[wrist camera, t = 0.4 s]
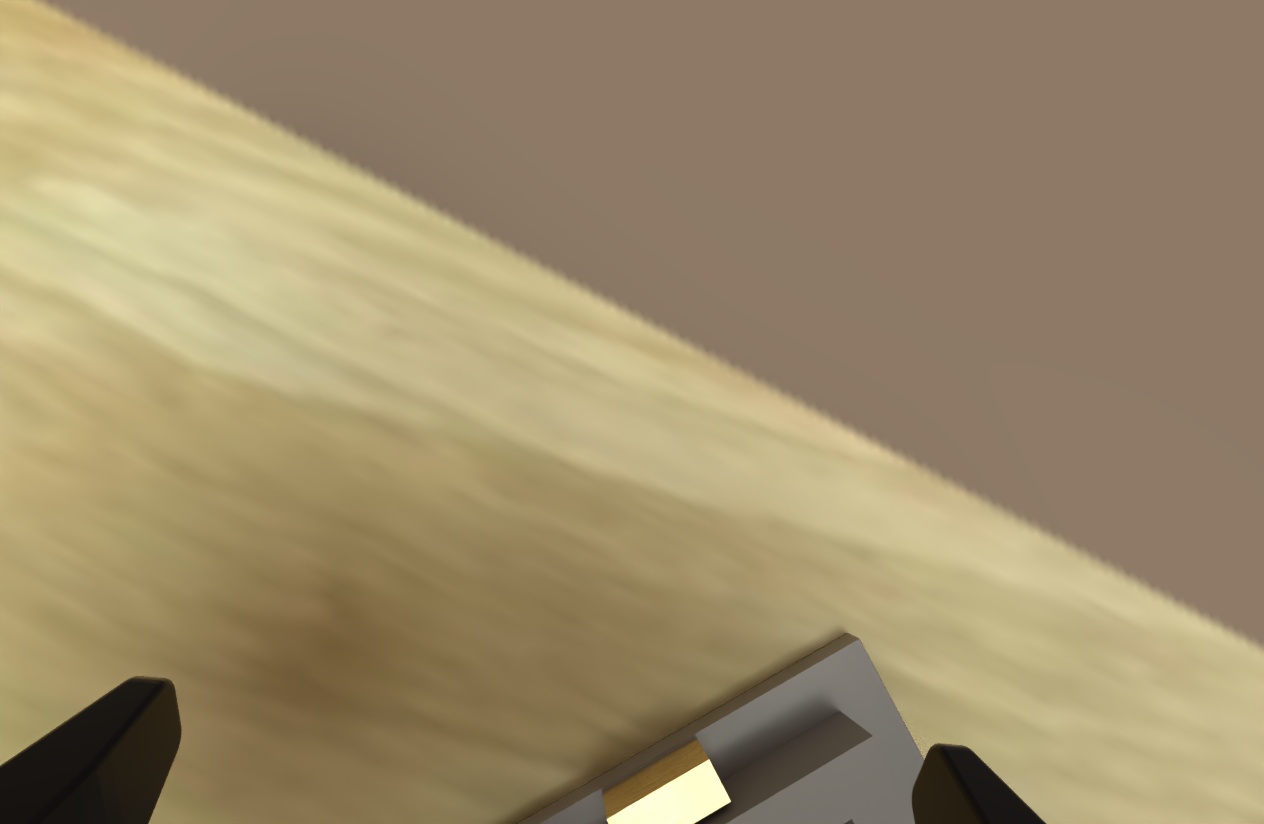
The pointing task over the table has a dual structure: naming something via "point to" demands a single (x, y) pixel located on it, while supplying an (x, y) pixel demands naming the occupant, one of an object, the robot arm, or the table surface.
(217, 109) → the table surface
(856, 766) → the gray square tray
